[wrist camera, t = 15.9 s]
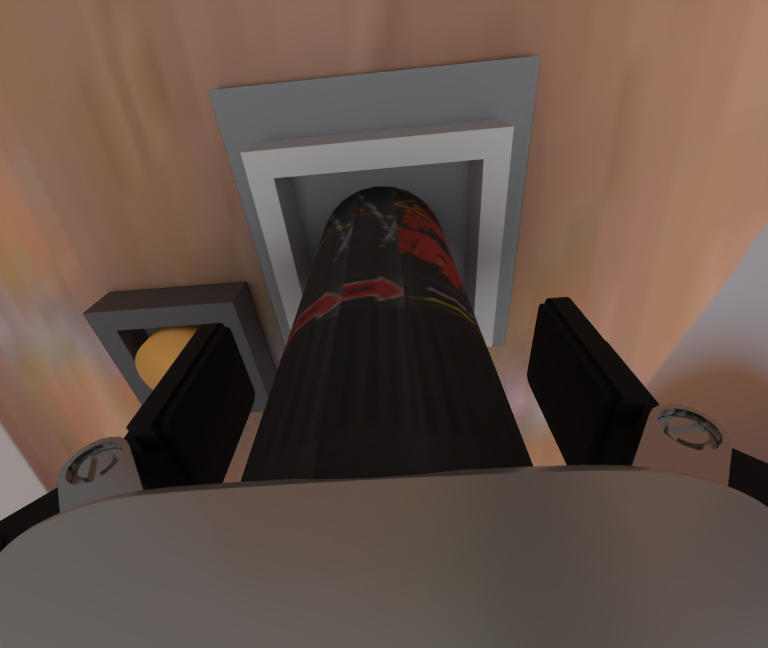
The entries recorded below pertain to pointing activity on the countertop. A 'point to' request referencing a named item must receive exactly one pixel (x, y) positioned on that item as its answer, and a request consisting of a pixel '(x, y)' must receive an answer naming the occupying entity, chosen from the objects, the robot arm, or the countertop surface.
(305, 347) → the deodorant
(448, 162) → the grey rectangular tray
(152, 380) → the button
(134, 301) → the button housing
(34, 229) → the countertop surface
